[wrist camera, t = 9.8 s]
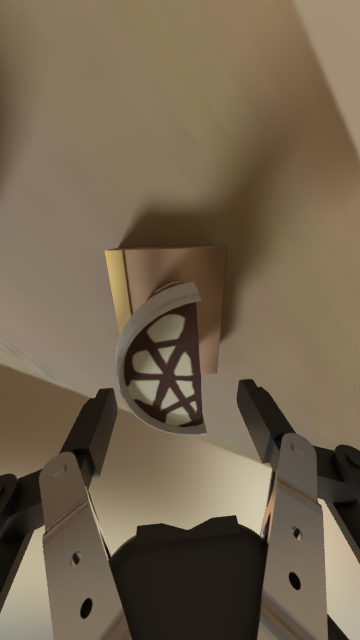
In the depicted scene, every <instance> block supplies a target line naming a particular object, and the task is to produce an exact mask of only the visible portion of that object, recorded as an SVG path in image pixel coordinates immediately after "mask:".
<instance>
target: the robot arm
mask: <svg viewBox="0 0 360 640" xmlns="http://www.w3.org/2000/svg"><path fill="white" fill-rule="evenodd" d="M237 404H238V408H239V410H240V412H241V415H242V417H243V419H244V422H245V424H246V426H247V429H248V431H249V433H250V436H251V438H252V440H253V442H254V445H255V447H256V449H257V452H258V454H259V456H260V459H261V461H262V463H270V465H271V467H272V473H271V479H270V486H269V491H268V497H267V503H266V509H265V514H264V518H263V522H262V527H261V532H260V536H259V535H258V534H257V533H255V532H254V531H252V530H251V529H249V528H247V527H245V526H243V525H240V524H238V521H237V517H236V515H234V516H225V517H216V518H211V519H209V520H207V521H205V522H203V523H202V524H199V525H198V526H196V527H194V528H192V529H190V530H185V529H181V528H177V527H174V526H170V525H166V524H163V523H160V524H151V525H142V526H137V533H136V535H135V536H133V537H132V538H130V539H129V540H127V541H126V542H125V543H124V544H123V545H121V546H120V548H118V549H117V551H116V552H115V553H114V554H113V555H111V552H110V549H109V546H108V543H107V540H106V538H105V535H104V533H103V530H102V527H101V524H100V521H99V518H98V515H97V512H96V509H95V506H94V503H93V500H92V497H91V494H90V491H89V486H90V483H91V480H92V478H99V477H100V473H101V470H102V466H103V463H104V459H105V455H106V452H107V449H108V445H109V441H110V437H111V434H112V431H113V427H114V423H115V420H116V416H117V402H116V398H115V393H114V389H113V388H105V389H99V391H98V393H97V395H96V397H95V398H90V399H89V400H88V401H87V402H86V403H85V405H84V406H83V407H82V409H81V411H80V413H79V416H78V417H77V419H76V421H75V423H74V425H73V427H72V429H71V431H70V433H69V435H68V437H67V439H66V441H65V443H64V445H63V447H62V449H61V451H60V453H59V454H58V455H56V456H54V457H53V458H52V459H51V460H49V461H48V462H47V464H46V465H45V466H44V467H43V468H42V469H41V470H38V471H36V472H34V473H31V474H29V475H26V476H24V477H21V478H19V479H17V477H16V476H15V475H13V474H5V475H2V476H0V612H1V610H2V607H3V605H4V602H5V600H6V597H7V595H8V592H9V590H10V588H11V585H12V583H13V580H14V578H15V575H16V573H17V571H18V568H19V566H20V563H21V561H22V559H23V556H24V554H25V551H26V549H27V546H28V544H29V542H30V539H31V537H32V534H33V532H34V530H35V529H38V528H40V527H42V526H44V525H45V533H44V535H43V552H44V560H45V568H46V577H47V585H48V594H49V602H50V610H51V618H52V627H53V636H54V640H349V639H348V638H347V637H346V635H345V634H344V633H343V632H342V631H341V629H340V628H339V627H338V626H337V625H336V623H335V622H334V621H333V620H332V619H331V618H330V616H329V615H328V614H327V602H326V580H325V579H326V577H325V554H324V529H323V512H322V506H321V505H320V504H319V503H318V499H317V498H320V499H323V500H324V501H325V502H326V504H327V506H328V508H329V510H330V512H331V513H332V515H333V517H334V518H335V520H336V522H337V524H338V526H339V527H340V529H341V531H342V533H343V535H344V537H345V538H346V540H347V542H348V544H349V546H350V547H351V549H352V551H353V553H354V554H355V556H356V558H357V560H358V562H359V563H360V451H359V450H357V449H356V448H353V447H351V446H348V445H339V446H337V447H336V449H335V451H333V450H329V449H325V448H320V447H316V446H313V445H312V444H311V443H310V442H309V441H308V440H307V439H305V438H304V437H302V436H300V435H298V434H296V433H295V431H294V430H293V428H292V427H291V425H290V424H289V422H288V421H287V419H286V418H285V416H284V415H283V413H282V412H281V410H280V409H279V408H278V406H277V404H276V403H275V402H274V400H273V398H272V397H271V395H270V394H269V393H268V392H267V391H266V390H265V389H263V388H262V387H257V386H256V384H255V382H254V381H253V380H252V379H245V380H239V385H238V392H237Z"/></svg>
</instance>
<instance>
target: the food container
mask: <svg viewBox="0 0 360 640" xmlns="http://www.w3.org/2000/svg"><path fill="white" fill-rule="evenodd" d="M198 301H201V298H200V296H199V291H198V289H197V287H196V285H195V283H194V282H190V283H184V282H183V281H182V280H177V281H173V282H169V283H167V284H165V285H163V286H161V287H160V288H158V289H157V290H156V291H155V292H154V293H153V294H152V295H151V296H150V297H149V298H148V299H147V301H146V302H145V303H144V304H142V305H141V306H140V307H139V308H138V309H137V310H136V311H135V312H134V313H133V314H132V316H131V317H130V318H129V320H128V321H127V323H126V324H125V326H124V327H123V329H122V332H121V334H120V337H119V339H118V343H117V348H116V377H117V383H118V387H119V389H120V392H121V394H122V397H123V399H124V401H125V403H126V405H127V406H128V408H129V409H130V411H131V412H132V413H133V414H134V415H135V416H136V417H137V418H138V419H140V420H141V421H142V422H144V423H145V424H147V425H149V426H151V427H153V428H155V429H157V430H160V431H163V432H167V433H171V434H176V435H203V434H207V431H206V427H205V423H204V419H203V414H202V400H201V371H200V358H199V342H198V324H197V308H196V302H198Z"/></svg>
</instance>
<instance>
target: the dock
mask: <svg viewBox="0 0 360 640" xmlns="http://www.w3.org/2000/svg"><path fill="white" fill-rule="evenodd" d="M105 255H106V261H107V267H108V272H109V278H110V284H111V290H112V295H113V301H114V307H115V312H116V318H117V324H118V329H119V335H120V334H121V332H122V329H123V327H124V326H125V324H126V323H127V321H128V320H129V318H130V317H131V316H132V314H133V313H134V312H135V311H136V310H137V309H138V308H139V307H140V306H141V305H142V304H144V303H145V302H146V301H147V299H148V298H149V297H150V296H151V295H152V294H153V293H154V292H155V291H156V290H157V289H158V288H160V287H161V286H163V285H165V284H167V283H169V282H173V281H177V280H182V281H183V282H184V283H190V282H194V283H195V285H196V287H197V289H198V291H199V296H200V298H201V301H198V302H196V308H197V324H198V342H199V358H200V371H201V374H212V373H217V367H218V355H219V342H220V330H221V318H222V305H223V293H224V281H225V268H226V256H227V247H220V246H183V247H141V248H115V249H110V250H105Z"/></svg>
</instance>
